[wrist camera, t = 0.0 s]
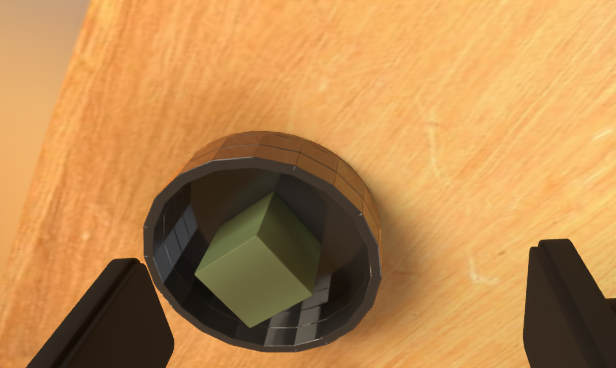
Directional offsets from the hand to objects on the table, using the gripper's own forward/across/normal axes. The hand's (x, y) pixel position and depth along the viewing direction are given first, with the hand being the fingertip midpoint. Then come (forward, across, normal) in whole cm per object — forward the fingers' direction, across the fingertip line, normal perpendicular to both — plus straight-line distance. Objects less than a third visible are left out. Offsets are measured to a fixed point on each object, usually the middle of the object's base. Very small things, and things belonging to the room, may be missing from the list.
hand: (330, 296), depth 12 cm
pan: (+15, +6, +8) cm, 18 cm away
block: (+14, +6, +8) cm, 17 cm away
